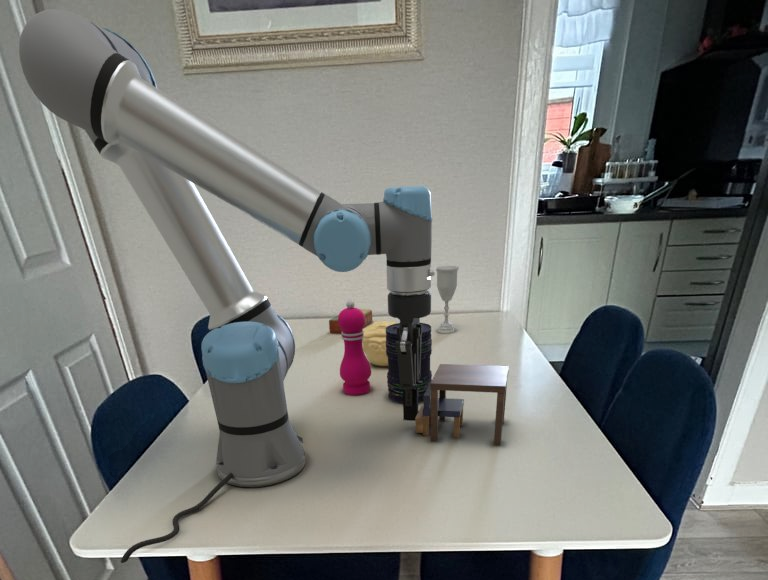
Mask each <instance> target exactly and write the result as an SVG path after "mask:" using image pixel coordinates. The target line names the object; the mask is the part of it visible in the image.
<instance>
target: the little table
mask: <svg viewBox="0 0 768 580" xmlns="http://www.w3.org/2000/svg"><path fill="white" fill-rule="evenodd" d="M509 371H510V366H509V365H487V364H485V365H484V364H482V365H481V364H450V363H440V364H439V365H438V367H437V369H436V371H435V373H434V376H432V378H431V379H432V381H431V383H430V390H431V424H430V442H435V443H436V442H438V441H439V421H440V422H441V421H443V422H445V421H446V419H447V417H438V398H447V391H449V392H450V391H451V392H453V391H454V392H471V393H472V392H473V393H495V394H496V393H497V394H496V406H495V421H494V433H493V434H494V435H493V446H499V447H500V446H501V445H502V434H503V433H502V431H503V425H504V424H505V414H506V402H507V401H506V400H507V389H508V378H509V377H508V376H509Z"/></svg>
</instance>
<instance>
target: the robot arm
mask: <svg viewBox="0 0 768 580" xmlns="http://www.w3.org/2000/svg"><path fill="white" fill-rule="evenodd" d="M18 54H19V55H18V56H19V62H20V65H21V69H22V73H23V75H24V78H25V80H26V82H27V84H28V86H29V88H30V89H31V91H32V92H33V94H34V96H35V97H36V98H37V99H38V100H39V102H40V103H41V104H42V105H43V106H45V108H46V109H47V110H49V112H51V113H52V114H53V115H55V116H56V117H58V118H60V119H62V120H63V121H65V122H68V123H70V124H71V125H74V126H76V127H78V128H80V129H82V130H84V131H85V133H86V134H87V136H88V137H89V139H90V140H91V143H92V144H93V146H94V147H95V149H96V151H97V152H98V153H99V155H100V156H101V158H102V159H104V160H106V161H109V162H112V163H114V164H116V165H117V166H119V168H120V170H121V171H122V173H123V174H124V177H125V178H126V180H127V181H128V183H129V184H130V186H131V188H132V190H133V191H134V192H135V194H136V196H137V198H138V199H139V200H140V202H141V204H142V206H143V208H144V209H145V210H146V212H147V214H148V216H149V217H150V219H151V220H152V222H153V224H154V225H155V227H156V228H157V230H158V232H159V233H160V235H161V237H162V238H163V240H164V242H165V243H166V245H167V247H168V248H169V250H170V252H171V253H172V254H173V256H174V258H175V260H176V261H177V263H178V264H179V267H181V270H182V271H183V273H184V274H185V276H186V278H187V279H188V281H189V282H190V284H191V286H192V287H193V288H194V291H195V292H196V294H197V295H198V298H199V299H200V300H201V302H202V303H203V305H204V307H205V309H206V310H207V312H208V314H209V320H208V326H207V329H208V330H209V332H208V333H206V335H205V336H204V337H203V339H202V341H201V345H200V346H201V347H200V348H201V355H202V357H201V360H202V366H203V368H204V370H205V375H206V380H207V382H208V387H209V391H210V396H211V400H212V404H213V408H214V409H213V410H214V413H215V418H216V421H217V426H218V431H219V436H218V442H217V443H218V444H217V450H216V451H217V452H216V458H215V459H216V460H215V466H216V470H217V474H218V475H217V476H218V477H219V478H220V479H221V481H220V482H218V484H217V485H215V487H214V488H213V489H212V490H210V491H209V493H208V494H207V495H206V496H205V497H204V498H203V499H202V500H201V501H199V503H197V504H195V505H194V506H192V507H189V508H187V509H184V510H181V511H179V512H178V513H177V514H175V515H174V516H173V518H172V525H173V529H172V531H171V532H170V533H168V534H165V535H163V536H159V537H154V538H150V539H145V540H142V541H139V542H137V543H135V544H132V546H130V547H129V548H128V549H127V550H126V551H125V552H124V554H123V556H122V557H121V559H120V563H121V564H124V563H126V562H127V561H129V559H130V557H131V556H132V555H133V554H134V553H135V552H136V551H138V550H139V549H142V548H144V547H147V546H151V545H156V544H161V543H164V542H167V541H170V540H171V539H173V538H175V537H176V536H177V535H178V534H179V532H180V524H179V520H180V519H181V518H182V517H185V516H187V515H190V514H193V513H195V512H197V511H199V510H200V509H202V508H203V507H204V506H205V505H206V504H208V502H209V501H210V500H211V499H212V498H213V497H214V496H215V495H216V494H217V492H218V491H220V490H221V489H222V488H223V487H224V486H226V484H229V485H231V486H234V487H241V488H259V487H266V486H271V485H272V486H273V485H276V484H279V483H282V482H285V481H286V480H289V479H291V478H293V477H295V476H296V475H298V474H299V473H300V472H301V471H302V470H303V469H304V467H305V465H306V455H305V450H304V447H303V445H302V444H303V443H304V439H303V437H302V436H300V435H298V434H297V433H296V431H295V430H294V427H293V426H292V424H291V422H290V418H289V411H288V405H287V399H286V391H285V382H284V381H285V379H286V377H287V374H288V372H289V370H290V368H291V367H292V365H293V363H294V359H295V355H296V342H295V336H294V332H293V331H292V328H291V327H290V325H289V324H288V322H287V321H286V320H285V319H284V318H283V317H282V316H280V315H279V314H278V313H276V311H275V309H274V307H273V306H272V304H271V302H270V300H269V299H268V297H267V295H266V294H263V293H260V292H257V291H256V290H254V289H253V287H252V285H251V283H250V282H249V280H248V278H247V276H246V274H245V272H244V271H243V269H242V267H241V266H240V264H239V262H238V260H237V258H236V256H235V255H234V253H233V251H232V249H231V247H230V245H229V244H228V241H227V240H226V238H225V237H224V235H223V233H222V232H221V229H220V228H219V226H218V224H217V223H216V220H215V218H214V217H213V215H212V214H211V212H210V210H209V208H208V206H207V205H206V203H205V200H204V199H203V197H202V195H201V194H200V192H199V190H198V189H197V187H196V186H198V187H199V188H200V189H203V190H204V191H206V192H208V193H209V194H211V195H213V196H214V197H217V198H218V199H220V200H222V201H223V202H225V203H226V204H228V205H230V206H232V207H233V208H236V209H237V210H239V211H240V212H243V214H245V215H247V216H249V217H251V218H252V219H254V220H256V221H257V222H259V223H261V224H262V225H264V226H266V227H268V228H270V229H271V230H273V231H274V232H276V233H278V234H280V235H281V236H283V237H284V238H287V239H288V240H290V241H292V242H294V244H296V245H298V246H300V247H301V248H303V249H304V250H306V251H307V252H309V253H311V254H313V256H316V257H317V258H318V259H319V260H320V261H321V263H322V264H323V265H324V266H325V267H327V268H328V269H329V270H332V271H334V272H337V273H348V272H351V271H354V270H355V269H357V268H358V267H360V265H362V264H363V263H364V261H365V260H366V259H367V257H368V256H374V255H376V256H380V255H385V256H386V290H388V294H387V314H388V316H390V317H391V318H394V319H398V320H399V323H400V326H399V327H397V338H398V341H396V343H395V346H396V350H397V357H398V368H399V380H400V385H399V386H398V388H399V389H403V404H402V413H403V415H402V417H403V419H402V420H403V421H410V422H415V418H416V416H417V414H418V412H419V403H418V386H416V385H422V381H420V380H419V378H420V376H421V374H420V368H421V343H422V329H423V325H422V324H419V323H421V322H420V321H421V319H422V318H425V317H427V316H429V315H430V314H431V313H432V293H431V292H430V291H429V290H430V288H431V287H432V277H434V276H435V273H436V272H435V270H434V269H431V268H432V239H433V238H432V237H433V236H432V235H433V218H432V217H433V215H432V194H431V191H430V189H429V188H428V187H426V186H424V185H408V186H406V185H405V186H392V187H386V188H385V190H384V192H383V199H382V201H378V202H374V203H373V202H372V203H371V202H370V203H368V202H366V203H341V202H339V201H337V200H336V199H334V198H332V197H331V196H329V195H328V194H326V193H324V192H322V191H321V190H320V189H318V188H316V187H315V186H313V185H312V184H310V183H309V182H307V181H305V180H303V179H302V178H301V177H300V176H298V175H296V174H294V173H293V172H290V171H289V170H288V169H286V168H285V167H284V166H281V165H280V164H278V163H277V162H275V161H274V160H272V159H270V158H269V157H268V156H265V155H264V154H262V153H261V152H259V151H258V150H256V149H254V148H253V147H251V146H249V145H248V144H246V143H245V142H243V141H242V140H240V139H238V138H237V137H235V136H234V135H232V134H231V133H229V132H227V130H224V129H223V128H221V127H219V126H218V125H216V124H215V123H213V122H212V121H210V120H209V119H207V118H205V117H203V116H202V115H200V114H199V113H198V112H196V111H194V110H192V109H191V108H189V107H187V105H185V104H183V103H181V102H180V101H178V100H177V99H175V98H173V97H172V96H170V95H169V94H167V93H165V92H164V91H162V90H161V89H160V88H158V87H157V81H156V79H155V76H154V74H153V71H152V69H151V67H150V66H149V64H148V63H147V61H146V59H145V58H144V57H143V55H142V54H141V52H139V50H137V49H136V48H135V46H134V44H132V43H130V42H129V41H128V40H127V39H126V38H124V37H123V36H121V35H120V34H118V33H117V32H115V31H113V30H111V29H108V28H106V27H102V26H99V25H98V24H96V23H94V22H92V21H90V20H88V19H87V18H85V17H84V16H81V15H79V14H77V13H75V12H73V11H70V10H66V9H61V8H49V9H44V10H41V11H39V12H37V13H35V14H33V16H32V17H31V18H30V19H28V20H26V23H25V25H24V27H23V28H22V31H21V33H20V36H19V42H18ZM301 443H302V444H301Z"/></svg>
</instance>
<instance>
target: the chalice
mask: <svg viewBox="0 0 768 580" xmlns="http://www.w3.org/2000/svg"><path fill="white" fill-rule="evenodd" d="M459 269H460V267H459V266H458V265H439V266H436V267H435V270H436V287H437V290H438V294H439V297H440V298H441V301H443V302H444V307H443V310H444V313H443V316H444V321H443V322H441V323H440V325H439V328H438V330H437V332H438V333H441V334H451V333H454V332H455V329H454V326H453V323H452V322H450V321H449V316H450V313H449V310H450V307H449V302H451V301H452V300H453V298H454V295H455V292H456V290H457V286H458V271H459Z"/></svg>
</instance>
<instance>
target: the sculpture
mask: <svg viewBox="0 0 768 580" xmlns="http://www.w3.org/2000/svg"><path fill="white" fill-rule="evenodd" d="M393 324H397V322H396V321H387V320H382V321H374V322H372V324H369V325H367V326H365V327H363V328H362V330H363V331H364V333H363V334H364V338H362V345H363V350H364V353H365V356H366V358H367V360H368V362H369V363H371V364H372V365H374V366H376V367H377V366H378V367H388V357H387V355H386V327H387V326H390V325H393Z"/></svg>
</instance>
